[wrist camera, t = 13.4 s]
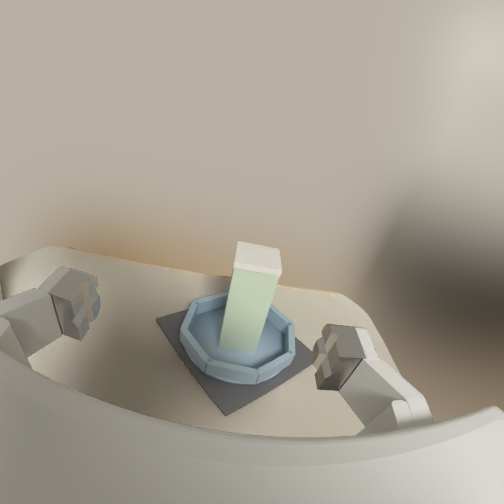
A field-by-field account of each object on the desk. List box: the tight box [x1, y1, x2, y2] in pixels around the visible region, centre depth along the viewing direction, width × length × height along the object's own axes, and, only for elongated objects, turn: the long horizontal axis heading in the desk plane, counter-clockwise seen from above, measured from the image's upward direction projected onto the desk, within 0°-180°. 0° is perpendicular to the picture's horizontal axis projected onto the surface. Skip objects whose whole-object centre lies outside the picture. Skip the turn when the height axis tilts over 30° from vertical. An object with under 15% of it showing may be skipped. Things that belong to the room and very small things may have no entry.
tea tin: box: [218, 241, 282, 354], centre depth 38 cm, size 6×6×15 cm
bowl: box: [180, 291, 295, 385], centre depth 41 cm, size 17×17×3 cm
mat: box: [156, 309, 313, 416], centre depth 42 cm, size 20×19×1 cm
